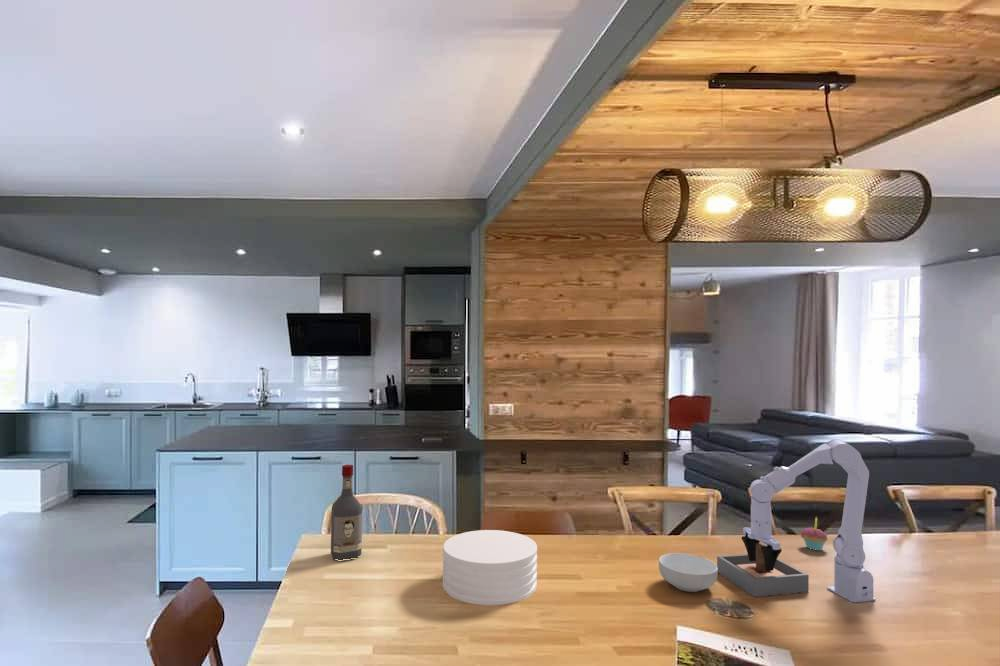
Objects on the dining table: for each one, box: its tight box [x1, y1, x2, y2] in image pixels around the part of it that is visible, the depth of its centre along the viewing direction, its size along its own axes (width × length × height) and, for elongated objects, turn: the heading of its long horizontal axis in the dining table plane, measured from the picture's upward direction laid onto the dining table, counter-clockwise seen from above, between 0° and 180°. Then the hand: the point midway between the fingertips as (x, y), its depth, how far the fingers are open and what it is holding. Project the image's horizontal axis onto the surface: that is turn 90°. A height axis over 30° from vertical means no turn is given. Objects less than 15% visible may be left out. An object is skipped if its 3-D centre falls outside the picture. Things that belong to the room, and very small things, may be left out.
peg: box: [756, 542, 767, 574], centre depth 170 cm, size 3×3×10 cm
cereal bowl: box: [658, 552, 719, 593], centre depth 166 cm, size 17×17×7 cm
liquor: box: [330, 464, 363, 560], centre depth 187 cm, size 9×9×30 cm
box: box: [716, 553, 810, 598], centre depth 170 cm, size 18×18×5 cm
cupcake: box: [799, 516, 828, 551], centre depth 199 cm, size 9×8×12 cm
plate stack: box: [442, 529, 538, 606], centre depth 166 cm, size 28×28×12 cm
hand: (760, 565), depth 170 cm, fingers open, 7 cm apart
